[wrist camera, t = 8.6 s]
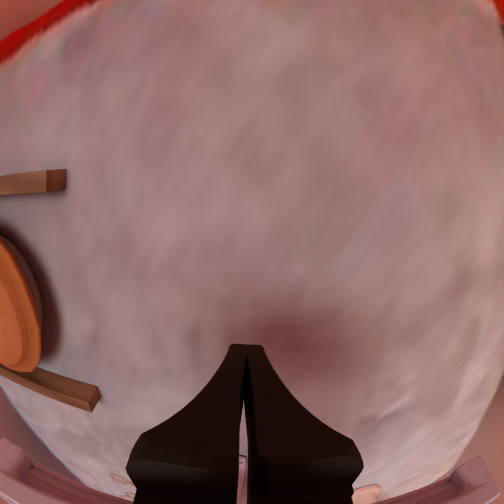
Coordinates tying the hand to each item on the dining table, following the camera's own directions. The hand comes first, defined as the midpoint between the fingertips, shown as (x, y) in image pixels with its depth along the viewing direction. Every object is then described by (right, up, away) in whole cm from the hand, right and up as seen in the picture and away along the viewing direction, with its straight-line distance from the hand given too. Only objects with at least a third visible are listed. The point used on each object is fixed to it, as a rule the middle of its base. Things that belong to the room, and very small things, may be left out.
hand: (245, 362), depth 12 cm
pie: (-24, +1, +9) cm, 26 cm away
